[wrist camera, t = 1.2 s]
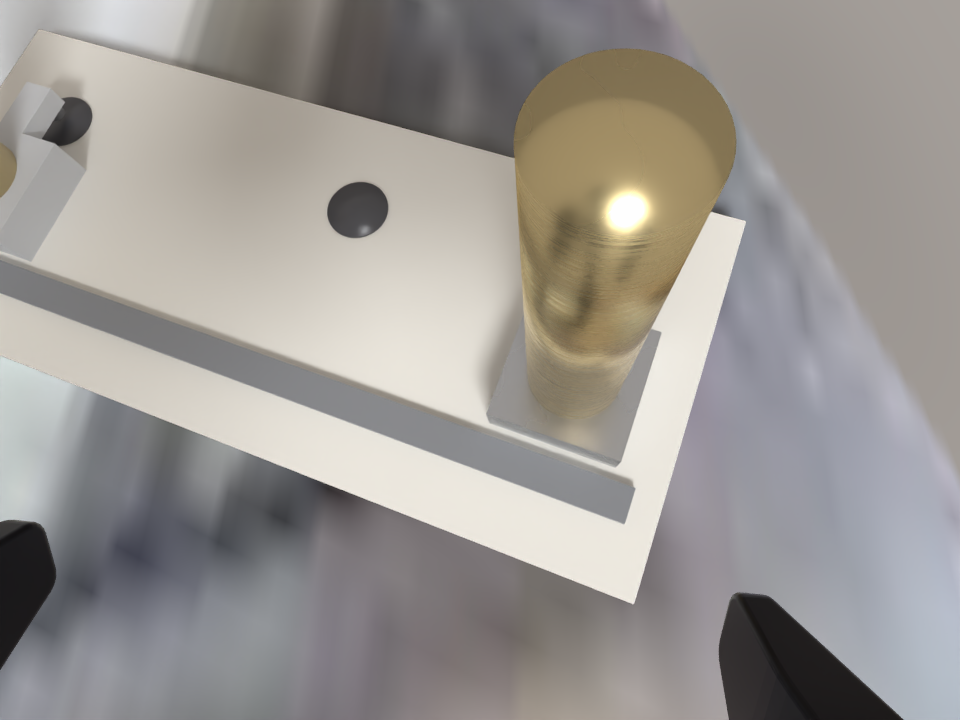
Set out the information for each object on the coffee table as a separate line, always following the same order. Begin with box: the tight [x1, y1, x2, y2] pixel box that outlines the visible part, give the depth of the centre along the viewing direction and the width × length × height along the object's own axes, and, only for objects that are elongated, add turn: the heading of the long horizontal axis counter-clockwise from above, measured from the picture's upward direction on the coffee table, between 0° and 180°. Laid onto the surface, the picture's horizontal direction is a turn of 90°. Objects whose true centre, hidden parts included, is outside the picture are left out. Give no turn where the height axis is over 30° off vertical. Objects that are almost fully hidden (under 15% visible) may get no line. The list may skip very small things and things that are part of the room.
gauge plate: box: [0, 29, 746, 604], centre depth 18 cm, size 14×32×15 cm, turn 69°
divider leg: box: [486, 49, 736, 468], centre depth 15 cm, size 7×4×14 cm
